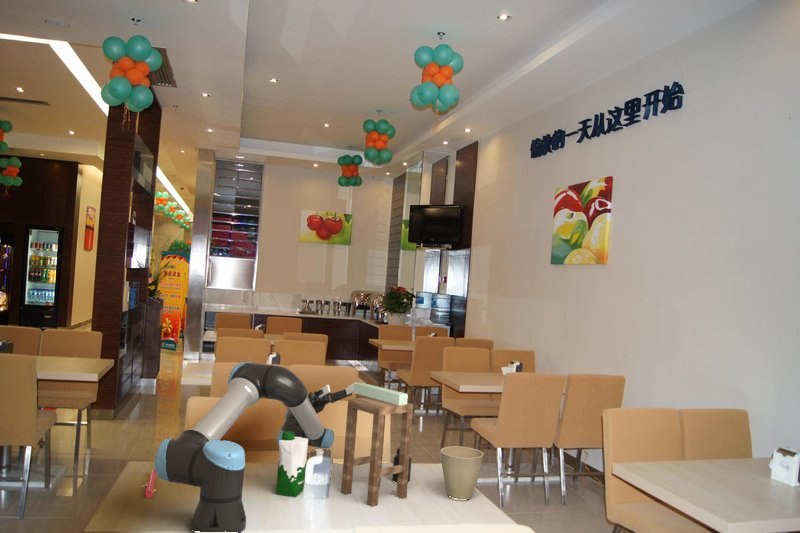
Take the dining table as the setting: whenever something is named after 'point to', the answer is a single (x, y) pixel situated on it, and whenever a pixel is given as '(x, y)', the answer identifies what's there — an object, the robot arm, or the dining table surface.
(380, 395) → the green block
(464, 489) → the plant pot
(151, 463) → the dining table surface
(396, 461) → the supplement bottle
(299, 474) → the milk carton
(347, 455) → the walnut stool
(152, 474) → the red long bar
